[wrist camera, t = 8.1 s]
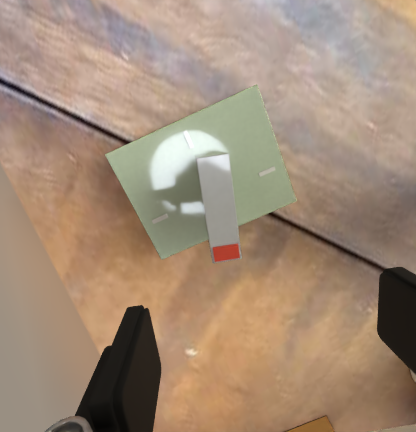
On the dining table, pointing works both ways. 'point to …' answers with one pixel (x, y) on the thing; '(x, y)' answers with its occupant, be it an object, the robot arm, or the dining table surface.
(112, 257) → the dining table surface
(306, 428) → the button box
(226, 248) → the knob
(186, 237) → the dial base
